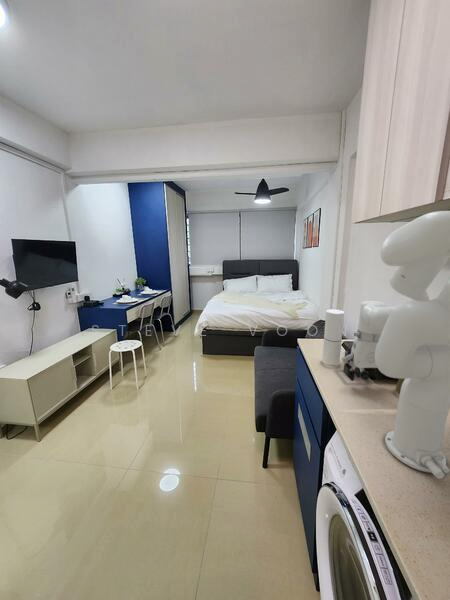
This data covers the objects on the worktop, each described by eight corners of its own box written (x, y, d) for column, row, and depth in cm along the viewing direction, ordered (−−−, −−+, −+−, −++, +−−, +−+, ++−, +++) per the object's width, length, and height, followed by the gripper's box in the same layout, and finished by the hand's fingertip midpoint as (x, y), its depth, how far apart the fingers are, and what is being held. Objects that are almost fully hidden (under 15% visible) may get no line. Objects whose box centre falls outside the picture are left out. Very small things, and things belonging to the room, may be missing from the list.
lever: (369, 381, 89) (372, 377, 86) (360, 381, 89) (363, 377, 86) (355, 351, 98) (358, 347, 96) (347, 351, 98) (350, 347, 96)
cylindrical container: (323, 367, 106) (327, 313, 101) (320, 360, 113) (324, 308, 107) (340, 369, 105) (346, 314, 99) (337, 361, 112) (342, 309, 106)
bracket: (369, 384, 93) (373, 353, 91) (346, 384, 94) (349, 354, 91) (356, 370, 103) (359, 343, 100) (335, 371, 104) (337, 343, 101)
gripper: (349, 340, 82) (344, 384, 86) (401, 339, 81) (394, 384, 85) (340, 332, 89) (336, 373, 93) (387, 331, 88) (381, 373, 93)
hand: (363, 378), depth 89 cm, fingers open, 9 cm apart
